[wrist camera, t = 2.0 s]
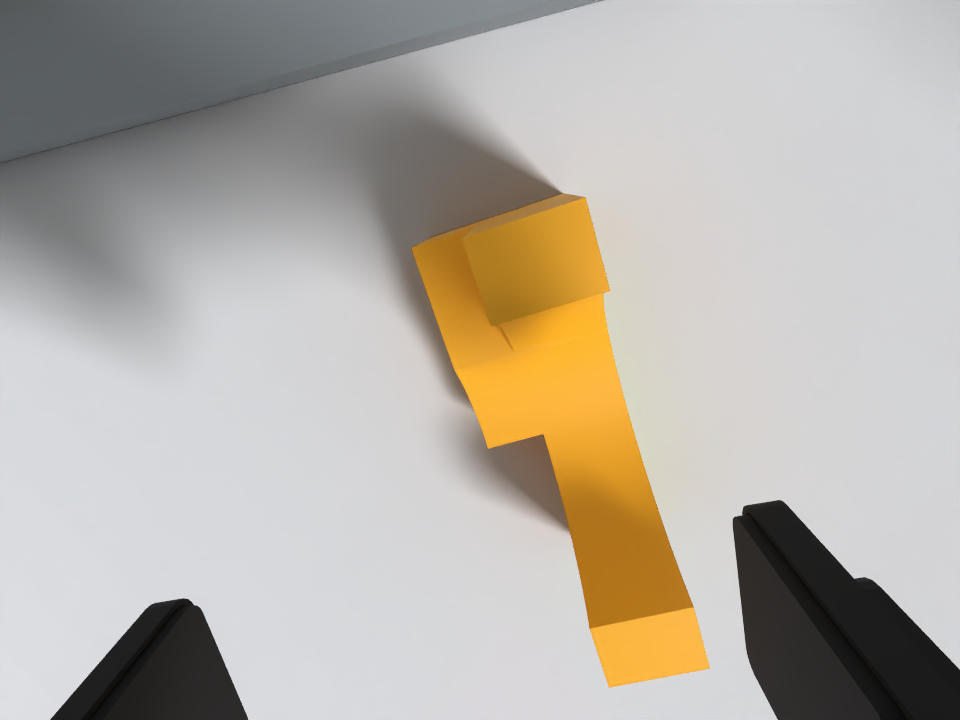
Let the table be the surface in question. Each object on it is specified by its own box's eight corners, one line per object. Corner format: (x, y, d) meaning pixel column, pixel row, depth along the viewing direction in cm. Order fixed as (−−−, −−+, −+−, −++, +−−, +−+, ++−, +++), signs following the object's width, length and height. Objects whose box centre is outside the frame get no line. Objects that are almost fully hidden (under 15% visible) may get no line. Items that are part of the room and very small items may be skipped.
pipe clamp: (430, 237, 18) (382, 264, 12) (562, 193, 17) (585, 197, 11) (537, 548, 21) (543, 699, 15) (652, 521, 20) (710, 668, 14)
